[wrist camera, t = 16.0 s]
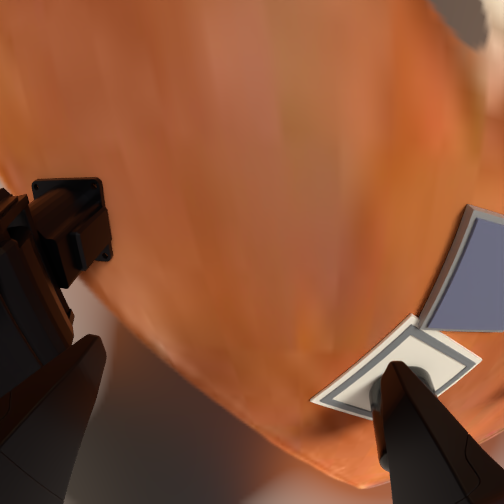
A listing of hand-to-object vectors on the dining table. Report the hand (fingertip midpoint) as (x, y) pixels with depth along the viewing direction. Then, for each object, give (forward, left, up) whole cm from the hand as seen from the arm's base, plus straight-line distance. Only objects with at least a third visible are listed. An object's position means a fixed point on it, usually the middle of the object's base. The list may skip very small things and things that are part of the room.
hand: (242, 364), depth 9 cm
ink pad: (+20, -4, -13) cm, 24 cm away
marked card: (+16, -18, -13) cm, 27 cm away
